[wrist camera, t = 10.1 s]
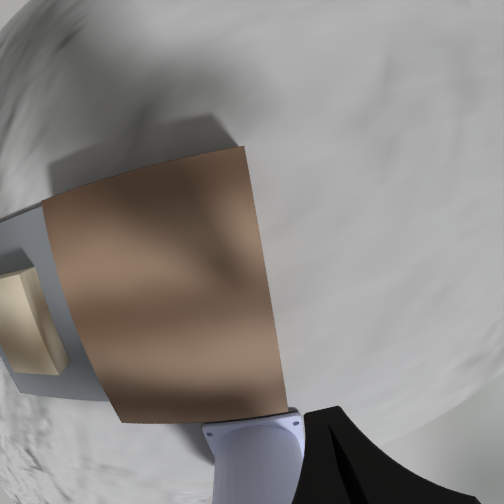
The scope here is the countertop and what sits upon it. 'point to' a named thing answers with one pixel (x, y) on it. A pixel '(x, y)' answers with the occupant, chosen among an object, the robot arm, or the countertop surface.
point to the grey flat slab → (40, 256)
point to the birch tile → (29, 326)
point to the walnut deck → (171, 290)
